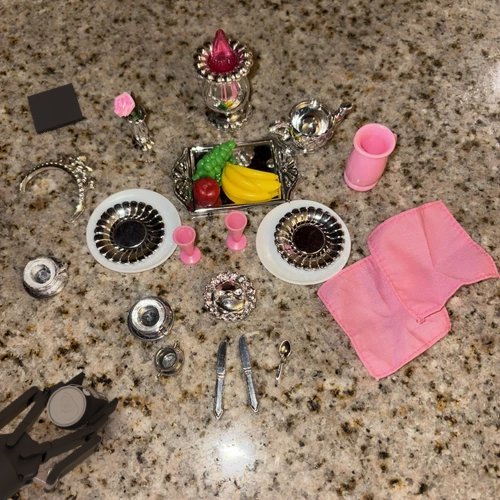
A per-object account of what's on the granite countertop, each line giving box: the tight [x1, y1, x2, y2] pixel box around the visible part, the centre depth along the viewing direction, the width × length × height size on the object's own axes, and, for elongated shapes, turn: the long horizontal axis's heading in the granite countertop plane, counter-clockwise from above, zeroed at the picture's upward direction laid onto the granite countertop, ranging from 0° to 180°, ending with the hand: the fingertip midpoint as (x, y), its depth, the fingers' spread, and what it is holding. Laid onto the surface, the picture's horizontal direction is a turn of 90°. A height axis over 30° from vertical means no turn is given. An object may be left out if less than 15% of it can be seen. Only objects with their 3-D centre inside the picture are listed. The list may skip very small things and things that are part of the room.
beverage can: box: [46, 384, 110, 432], centre depth 78 cm, size 7×7×12 cm
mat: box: [26, 82, 84, 135], centre depth 106 cm, size 10×10×1 cm
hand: (98, 390), depth 81 cm, fingers closed on beverage can, 6 cm apart
